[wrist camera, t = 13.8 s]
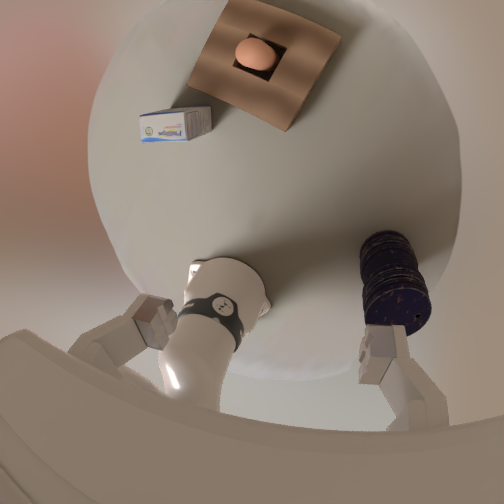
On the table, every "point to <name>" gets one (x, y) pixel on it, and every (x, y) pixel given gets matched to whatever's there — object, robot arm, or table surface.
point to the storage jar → (393, 283)
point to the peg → (257, 55)
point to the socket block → (285, 75)
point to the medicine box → (175, 124)
